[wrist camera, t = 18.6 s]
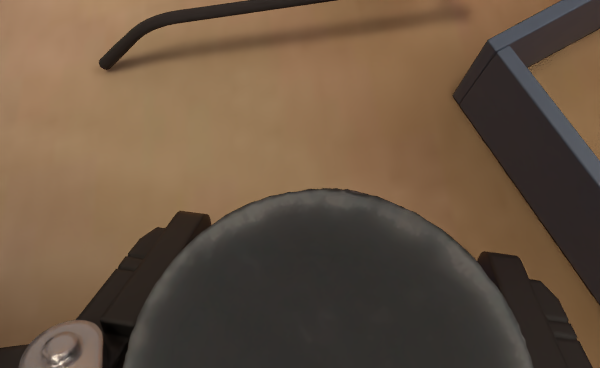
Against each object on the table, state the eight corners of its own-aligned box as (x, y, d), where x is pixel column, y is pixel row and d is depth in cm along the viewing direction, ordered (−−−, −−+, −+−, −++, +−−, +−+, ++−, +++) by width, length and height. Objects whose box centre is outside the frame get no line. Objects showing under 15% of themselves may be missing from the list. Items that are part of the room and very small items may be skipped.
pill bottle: (448, 348, 14) (780, 565, 4) (301, 433, 14) (187, 931, 3) (360, 202, 16) (410, 48, 5) (227, 277, 16) (-15, 281, 5)
